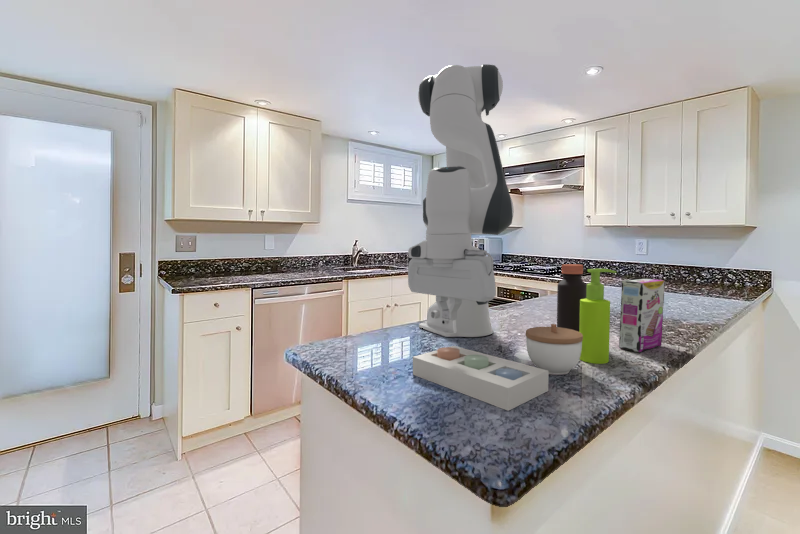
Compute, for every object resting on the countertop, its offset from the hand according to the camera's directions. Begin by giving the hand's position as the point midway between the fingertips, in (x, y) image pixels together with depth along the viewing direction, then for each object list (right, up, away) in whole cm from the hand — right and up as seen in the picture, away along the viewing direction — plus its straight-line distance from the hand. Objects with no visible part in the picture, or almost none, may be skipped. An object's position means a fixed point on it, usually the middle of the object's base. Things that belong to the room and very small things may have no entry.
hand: (448, 319), depth 77 cm
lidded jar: (+21, -11, +2) cm, 24 cm away
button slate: (+9, -11, -10) cm, 17 cm away
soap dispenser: (+33, -10, +8) cm, 36 cm away
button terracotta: (0, -9, +1) cm, 9 cm away
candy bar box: (+49, -9, +17) cm, 53 cm away
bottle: (+34, -9, +21) cm, 41 cm away
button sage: (+5, -10, -5) cm, 12 cm away
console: (+5, -11, -5) cm, 13 cm away
